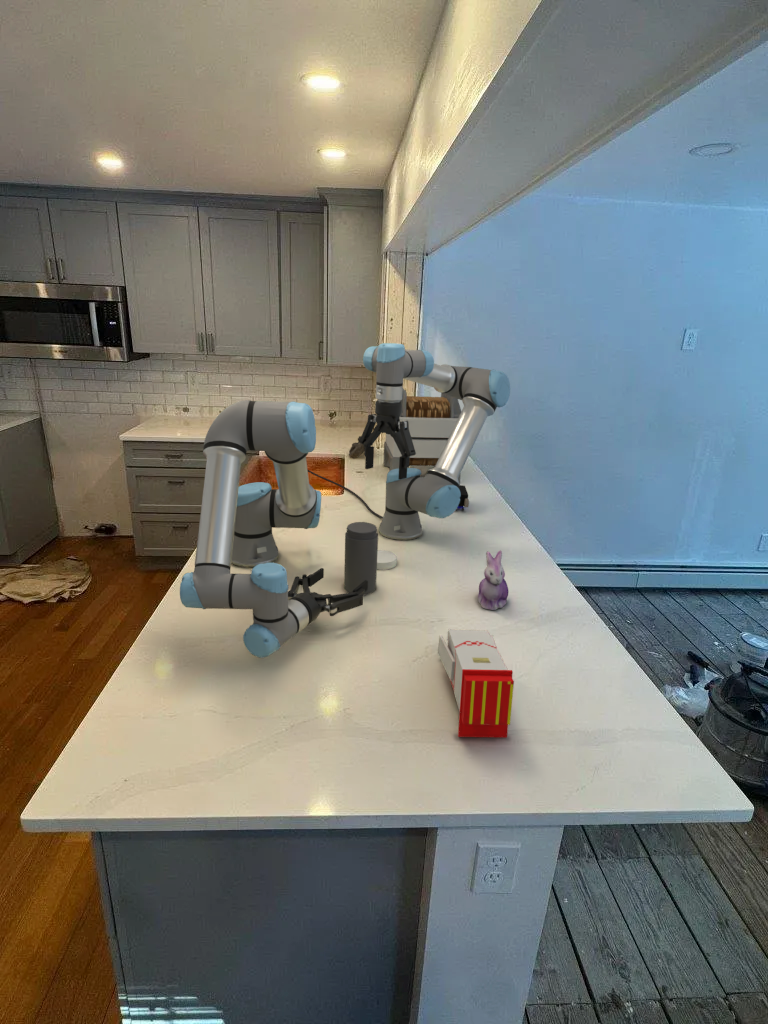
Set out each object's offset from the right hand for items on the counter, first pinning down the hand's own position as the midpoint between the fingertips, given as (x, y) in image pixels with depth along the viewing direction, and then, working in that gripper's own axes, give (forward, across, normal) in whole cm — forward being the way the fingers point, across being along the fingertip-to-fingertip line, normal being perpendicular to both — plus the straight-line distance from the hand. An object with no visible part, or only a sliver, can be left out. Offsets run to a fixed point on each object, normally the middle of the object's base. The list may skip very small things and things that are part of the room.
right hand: (385, 473), depth 167 cm
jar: (+29, +8, -16) cm, 34 cm away
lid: (+27, 0, 0) cm, 27 cm away
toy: (+29, +56, -32) cm, 71 cm away
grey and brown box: (+29, -59, +88) cm, 110 cm away
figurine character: (+29, -17, +62) cm, 70 cm away
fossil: (+29, -103, +90) cm, 140 cm away
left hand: (+22, +10, -25) cm, 35 cm away
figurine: (+29, +38, +4) cm, 48 cm away
